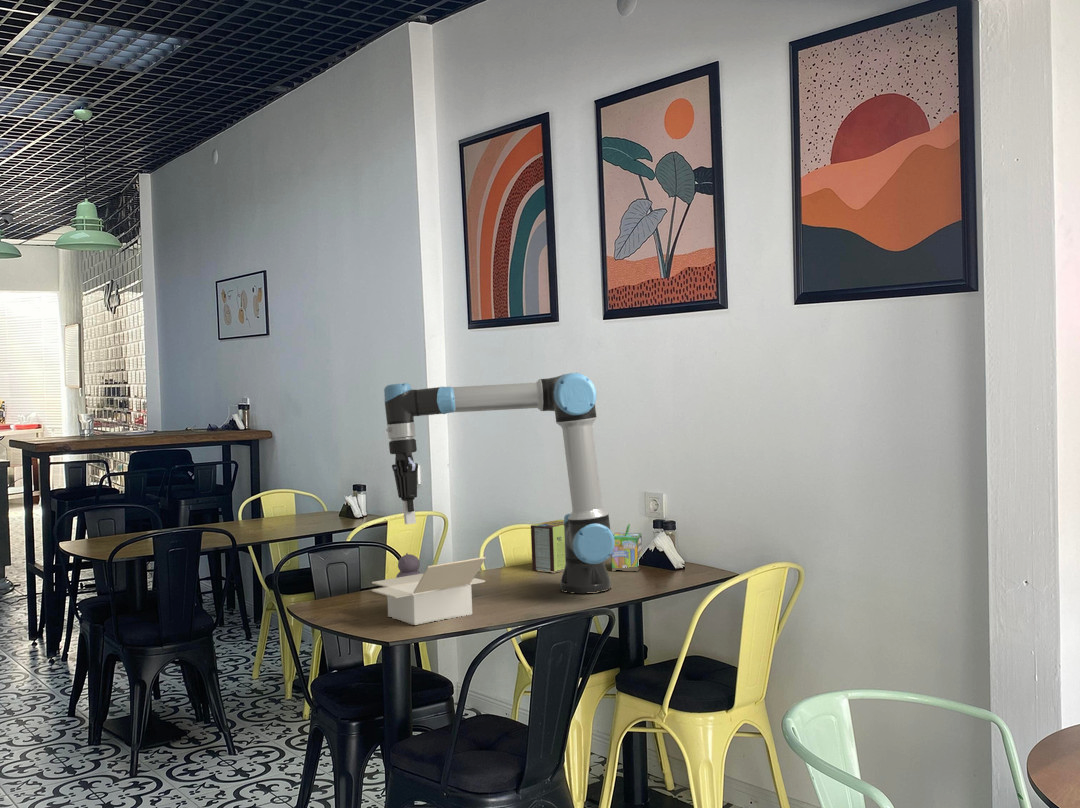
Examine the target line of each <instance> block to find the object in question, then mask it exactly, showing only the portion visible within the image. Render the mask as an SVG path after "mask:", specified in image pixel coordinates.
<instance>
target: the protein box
mask: <svg viewBox="0 0 1080 808" xmlns="http://www.w3.org/2000/svg"><path fill="white" fill-rule="evenodd" d="M563 523H564V519H556V520H550V521H545V522H539V523H534V524H531V525H530V537H531V538H530V540H531V541H530V542H531V543H530V545H531V564H532V571H533V570H543V571H557V570H561V569H564V568H565V533H564V525H563Z"/></svg>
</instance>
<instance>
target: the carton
mask: <svg viewBox="0 0 1080 808" xmlns="http://www.w3.org/2000/svg"><path fill="white" fill-rule="evenodd" d="M424 573H425V572H423V573H421V574H416V575H410V576H404V577H399V578H396V577H394V578H386V579H383V580H382V579H381V580H377V581H372V582H371V584H373V585H377V586H379V587H380V588H375V589H371V593H372V592H374V593H377V594H379V595H383V596H386V597H387V599H386V600H387V618H388V617H392V618H394V619H398V620H401V621H404V622H407V623H410V624H413V625H418V624H423V623H428V622H433V623H435V622H434V621H438V622H441V621H440V620H443V621H445V620H444V619H448V620H452V619H451V618H453V619H457V618H456V617H458V618H462V617H466V615H467V616H471V615H473V599H472V598H473V595H472V594H473V593H472V585H475V584H482V583H485V582H486V580H485V579H480V578H476V577H474V578H473V580H472V581H471V583H470V584H464V585H459V586H453V587H448V588H442V589H437V590H431V591H426V592H420V593H415V594H414V593H413V592H414V590H415V589H416V587H417V585H418V583H419V581H420V580H421V578H422V576H423V574H424ZM461 616H462V617H461ZM394 619H393V620H394ZM428 624H429V623H428Z"/></svg>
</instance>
